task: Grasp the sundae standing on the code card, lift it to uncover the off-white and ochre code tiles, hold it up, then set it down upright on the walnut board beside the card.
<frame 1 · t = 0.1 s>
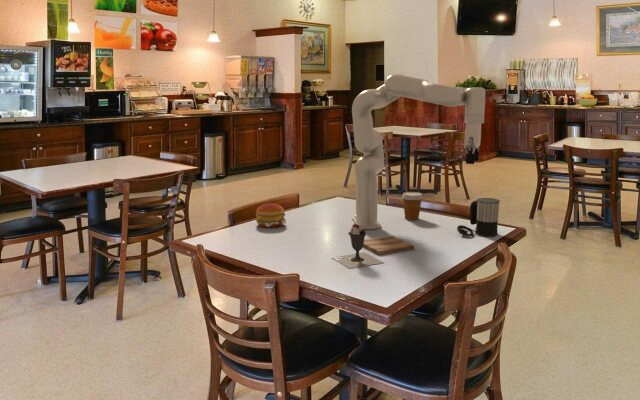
hand: (472, 162, 231), 31 cm above the table, tool pointing down, fingers open, 9 cm apart
sundae: (357, 260, 208), resting on code card
burger: (271, 225, 260), on the table
code card: (357, 260, 208), on the table
milk frother: (477, 235, 241), on the table
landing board: (385, 246, 225), on the table
disposable coffee cup: (411, 219, 269), on the table
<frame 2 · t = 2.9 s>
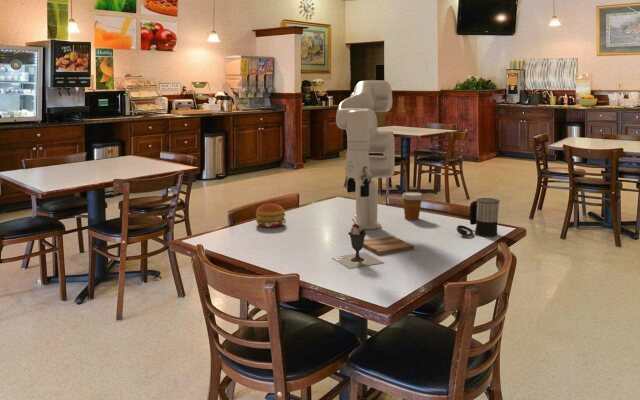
hand: (357, 194, 203), 24 cm above the table, tool pointing down, fingers open, 9 cm apart
nothing on the table moved.
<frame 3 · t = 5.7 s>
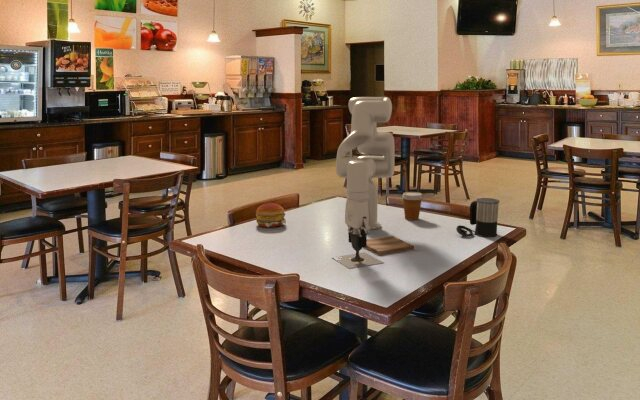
hand: (357, 244, 207), 6 cm above the table, tool pointing down, fingers closed on sundae, 6 cm apart
sundae: (357, 260, 208), resting on code card, touching gripper
everything else where it was.
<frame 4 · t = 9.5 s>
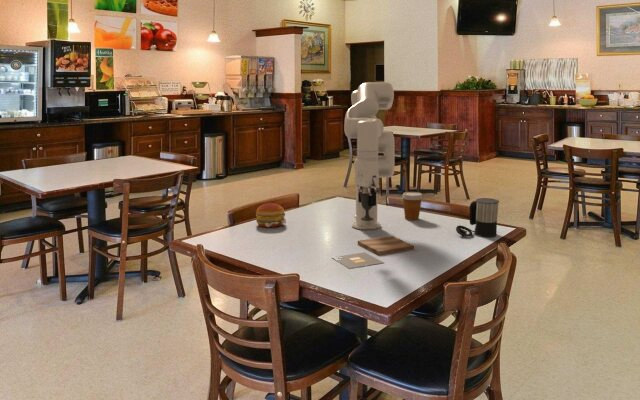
hand: (367, 203, 210), 20 cm above the table, tool pointing down, fingers closed on sundae, 6 cm apart
sundae: (366, 219, 211), point 14 cm above the table, touching gripper
everything else where it was.
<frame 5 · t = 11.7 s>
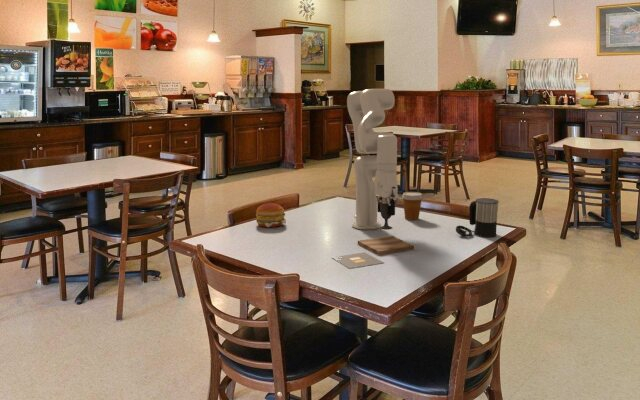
hand: (386, 213, 222), 14 cm above the table, tool pointing down, fingers closed on sundae, 6 cm apart
sundae: (385, 228, 223), point 7 cm above the table, touching gripper
when the fingers open (8 cm above the table, at t = 13.5 s): sundae drops 1 cm, resting on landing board.
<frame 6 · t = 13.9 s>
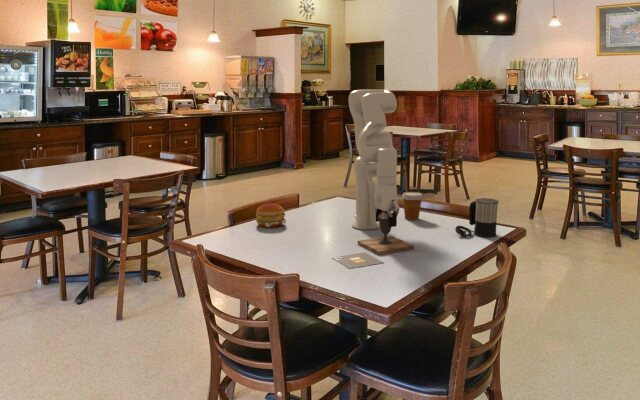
hand: (385, 223, 223), 9 cm above the table, tool pointing down, fingers open, 9 cm apart
sundae: (385, 243, 225), point 1 cm above the table, touching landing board
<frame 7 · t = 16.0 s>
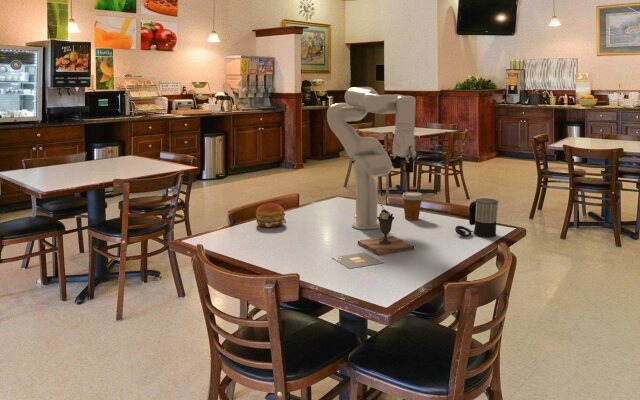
hand: (403, 170, 231), 28 cm above the table, tool pointing down, fingers open, 9 cm apart
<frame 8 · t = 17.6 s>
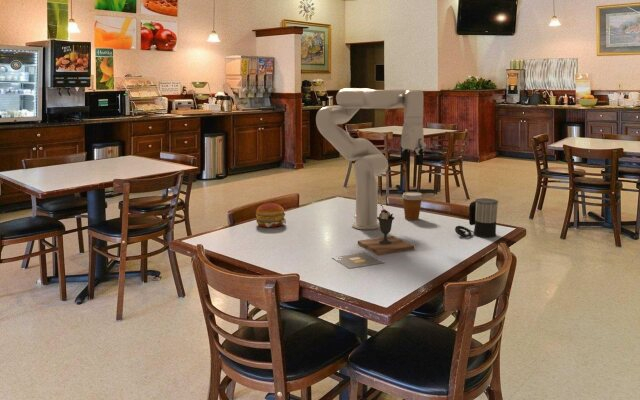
hand: (412, 163, 236), 30 cm above the table, tool pointing down, fingers open, 9 cm apart
at the end: sundae inside the target area on the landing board (0.7 cm from its centre), point 1.3 cm above the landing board's base; sundae tilted 0°; the gripper is holding nothing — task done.
